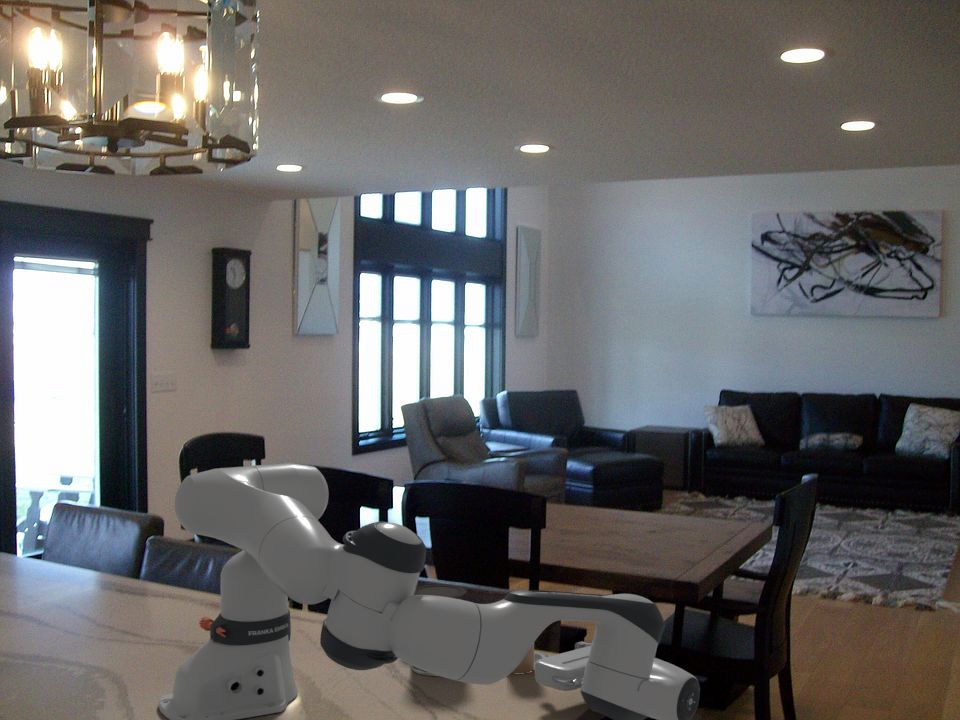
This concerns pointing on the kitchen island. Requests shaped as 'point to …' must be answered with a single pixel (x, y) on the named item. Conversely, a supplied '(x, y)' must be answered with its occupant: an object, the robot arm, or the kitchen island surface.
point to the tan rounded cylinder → (526, 662)
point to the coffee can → (444, 592)
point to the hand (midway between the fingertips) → (557, 651)
